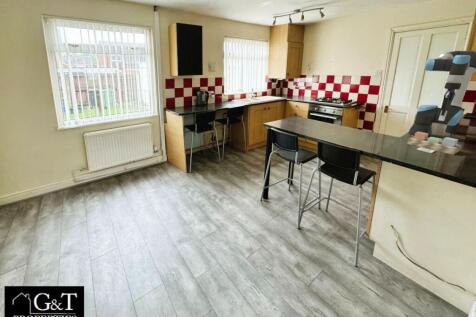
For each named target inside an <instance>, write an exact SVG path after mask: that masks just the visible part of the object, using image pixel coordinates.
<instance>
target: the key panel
mask: <svg viewBox="0 0 476 317" xmlns="http://www.w3.org/2000/svg"><path fill="white" fill-rule="evenodd" d="M414 136H415V135H413V136H411V137H409V138H408V140H407V142H406V143H407V145H410V146H411V145H412V146H415V147H418V148H420V147H422V148H427V149H431V150H434V151H437V152H439V153H443V154H449V155H453V156H454V155H455V154H457V153H458V152H460V150H461V147H462V145H461V144H458V143H457V144H456V146H455V147H450V146H446V145H442V142H443V140H441V143H439V144H437V143H432V142H428V141H427V140H428V138H429V137H427V140H425V141H423V140H418V139H414Z"/></svg>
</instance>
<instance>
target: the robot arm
mask: <svg viewBox="0 0 476 317" xmlns="http://www.w3.org/2000/svg"><path fill="white" fill-rule="evenodd" d="M424 71H426V72H449V73H448V74H447V78H446V83H445V84H444V90H446V91H445V93H444V95H443V100H442V102H441V103H442V104H441V107H439V105H438V104H424V105H423V104H422V105H419V106H418V108H417V111H416V115H415V117H414V122H413V124H412V126H411V127H410V128H409V130H408V132H407V133H408V134H410V135H413V136H415V133H416V132H424V133H429V134H428V137H427V138H430V137H432V134H433V130H432V129H433V128H432V126H433V124H439V125H445V126H447V125H452V126H454V125H456V124H457V123H458V121H459V120H460V118H461V116H462V114H463V115H464V113H463V112H465V110H464V111H463V110H462V108H463V107H462V102H463V100H464V96H465V95H466V94H465V93H466V92H467V89H468V86H469V83H470V81H471V78H472V77H473V73H476V50H453V51H452V50H451V51H447V52H444V53H442V54H440V55H438V57H437V58H428V59H427V60H426V61H425V65H424ZM462 117H463V116H462Z"/></svg>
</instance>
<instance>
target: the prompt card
mask: <svg viewBox="0 0 476 317" xmlns="http://www.w3.org/2000/svg"><path fill="white" fill-rule="evenodd" d="M416 151H422V152H424V153H425V152H426V153H429V154H433V153H434V152H435V150H431V149H427V148H423V147H418V148H416Z"/></svg>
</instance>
